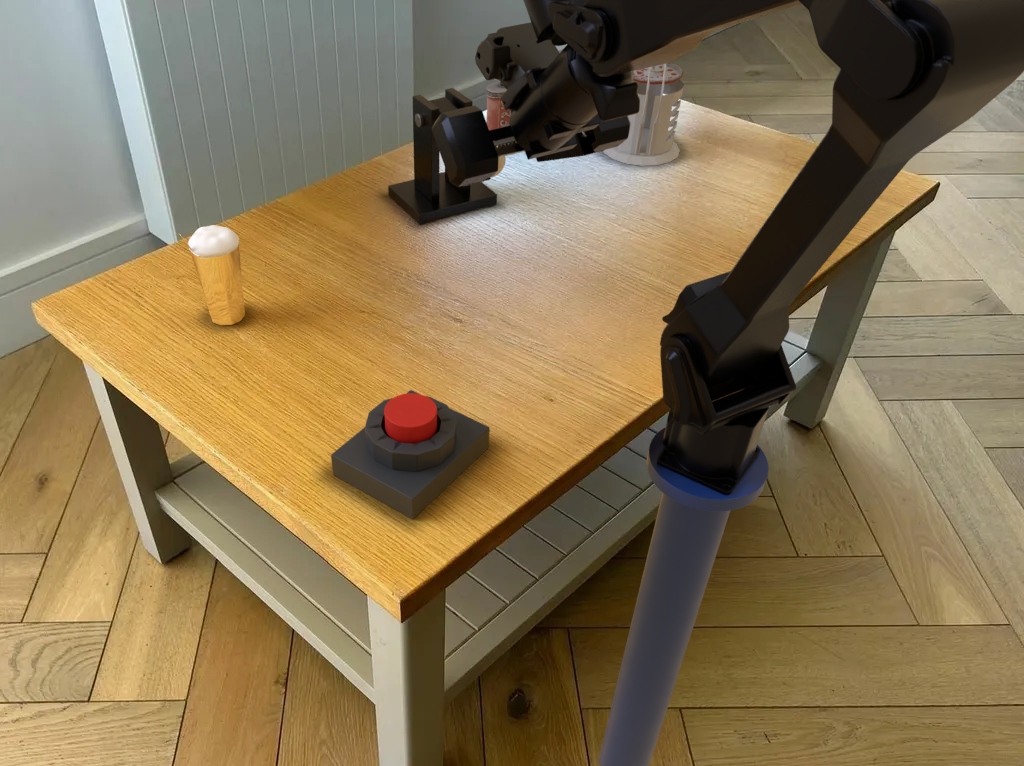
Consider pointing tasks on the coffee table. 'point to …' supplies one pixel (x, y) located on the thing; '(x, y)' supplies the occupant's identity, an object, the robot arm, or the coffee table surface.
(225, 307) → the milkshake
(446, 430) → the control block
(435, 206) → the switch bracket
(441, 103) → the lever
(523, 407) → the coffee table surface
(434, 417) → the button
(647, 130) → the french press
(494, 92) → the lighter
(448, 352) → the coffee table surface
